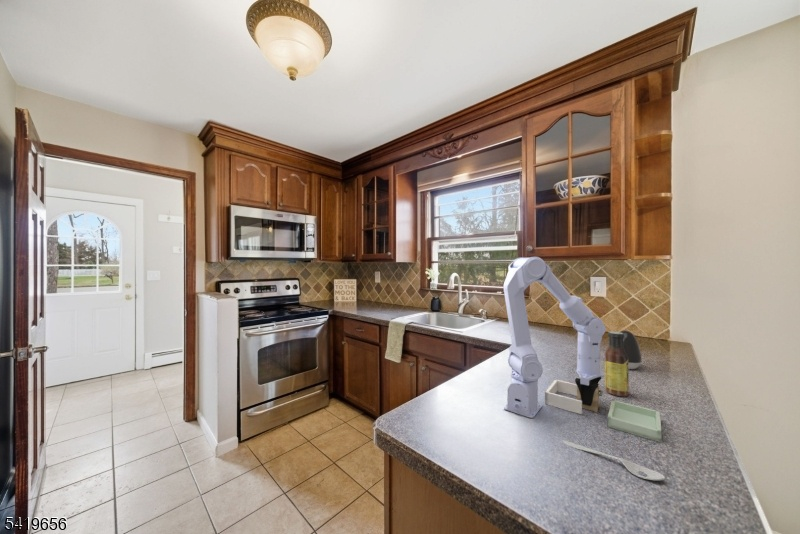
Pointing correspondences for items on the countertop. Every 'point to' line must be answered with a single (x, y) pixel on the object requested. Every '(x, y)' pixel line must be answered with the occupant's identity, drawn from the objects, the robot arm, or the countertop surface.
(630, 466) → the spoon
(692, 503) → the countertop surface
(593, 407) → the upright wooden block
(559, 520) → the countertop surface
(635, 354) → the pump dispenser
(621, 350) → the sauce bottle
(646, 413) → the tray
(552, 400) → the bay
